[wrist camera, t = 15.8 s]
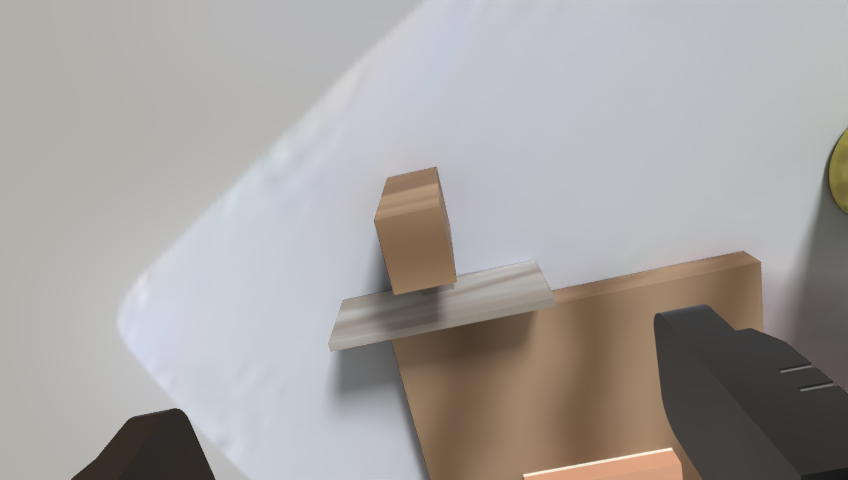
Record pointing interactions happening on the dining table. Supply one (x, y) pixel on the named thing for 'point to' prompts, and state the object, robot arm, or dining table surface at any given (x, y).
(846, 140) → the vase
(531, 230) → the dining table surface
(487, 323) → the board
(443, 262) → the wooden stamp block
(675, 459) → the tile
